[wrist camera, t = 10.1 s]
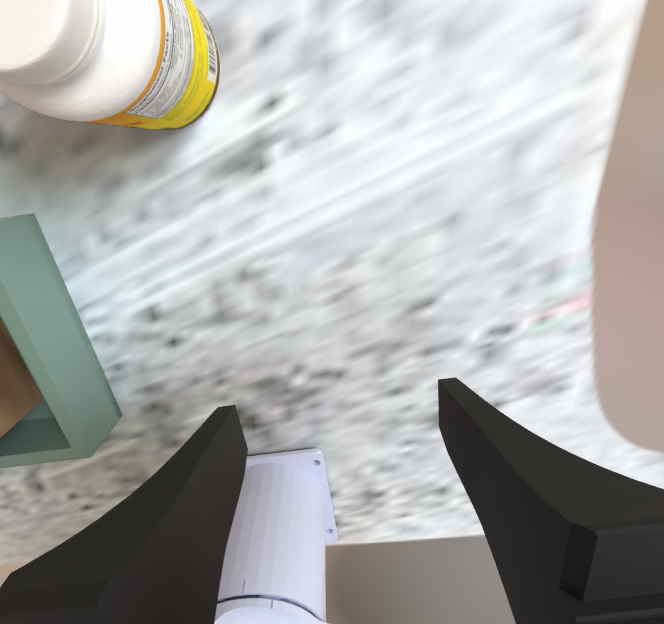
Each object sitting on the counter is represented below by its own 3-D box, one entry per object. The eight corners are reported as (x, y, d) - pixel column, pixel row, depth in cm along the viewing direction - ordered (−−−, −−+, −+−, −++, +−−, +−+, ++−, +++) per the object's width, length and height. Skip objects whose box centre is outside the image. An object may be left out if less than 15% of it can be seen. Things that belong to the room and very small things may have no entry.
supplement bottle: (73, 65, 17) (-246, -44, 7) (142, -51, 15) (-150, -379, 6) (179, 158, 18) (29, 167, 9) (250, 62, 17) (160, -50, 7)
